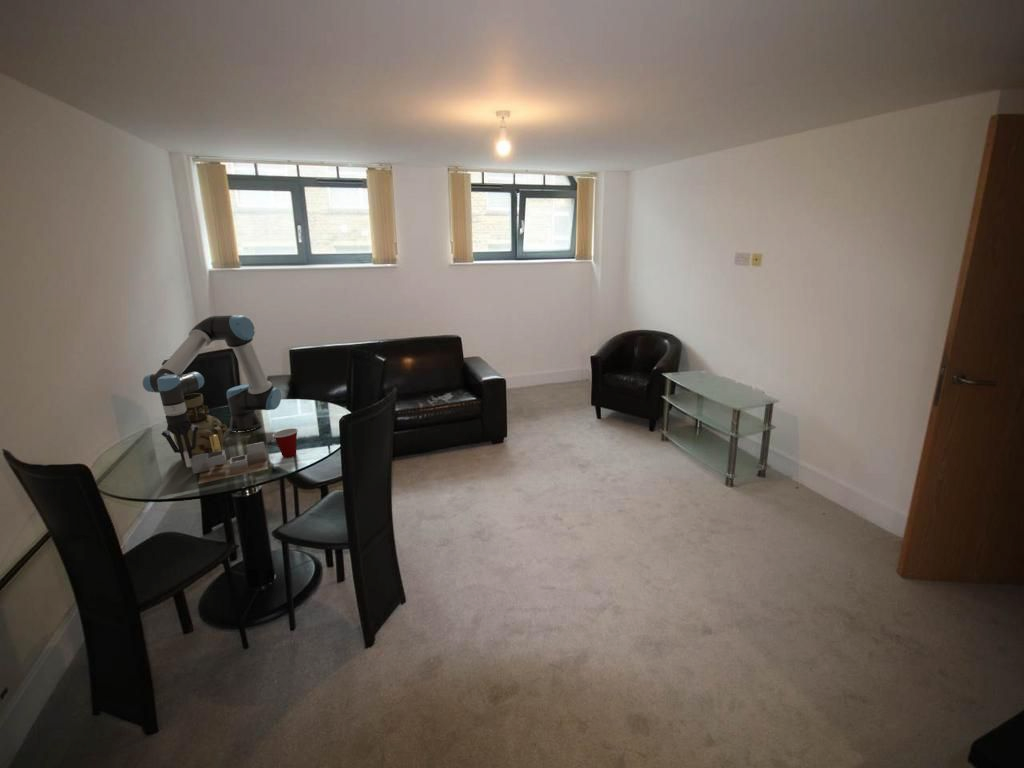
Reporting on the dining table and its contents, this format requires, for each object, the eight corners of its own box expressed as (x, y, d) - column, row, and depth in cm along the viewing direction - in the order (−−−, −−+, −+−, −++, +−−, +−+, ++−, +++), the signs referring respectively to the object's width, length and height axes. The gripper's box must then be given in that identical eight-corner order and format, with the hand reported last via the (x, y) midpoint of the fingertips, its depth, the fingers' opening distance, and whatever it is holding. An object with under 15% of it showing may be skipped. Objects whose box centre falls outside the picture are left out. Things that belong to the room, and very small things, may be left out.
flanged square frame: (193, 472, 209) (189, 456, 207) (228, 465, 215) (224, 449, 213) (192, 479, 204) (188, 462, 201) (227, 471, 209) (223, 455, 207)
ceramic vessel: (226, 462, 221) (212, 400, 213) (174, 469, 216) (157, 406, 207) (237, 446, 239) (224, 388, 230) (188, 452, 234) (174, 393, 225)
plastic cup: (292, 449, 234) (288, 425, 230) (306, 453, 228) (302, 429, 225) (271, 457, 225) (266, 433, 222) (285, 462, 219) (281, 437, 216)
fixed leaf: (231, 465, 216) (228, 448, 213) (267, 458, 222) (263, 441, 219) (231, 471, 210) (227, 454, 208) (267, 463, 216) (264, 446, 214)
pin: (216, 464, 217) (209, 435, 213) (224, 462, 219) (217, 433, 215) (215, 467, 215) (209, 437, 210) (224, 465, 216) (217, 436, 212)
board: (202, 467, 217) (202, 465, 217) (267, 454, 229) (266, 452, 228) (198, 486, 200) (198, 483, 200) (268, 471, 211) (268, 468, 211)
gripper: (155, 418, 192) (169, 473, 198) (194, 412, 197) (206, 465, 204) (158, 413, 198) (172, 466, 205) (195, 407, 204) (207, 459, 210)
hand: (189, 465), depth 204 cm, fingers closed
